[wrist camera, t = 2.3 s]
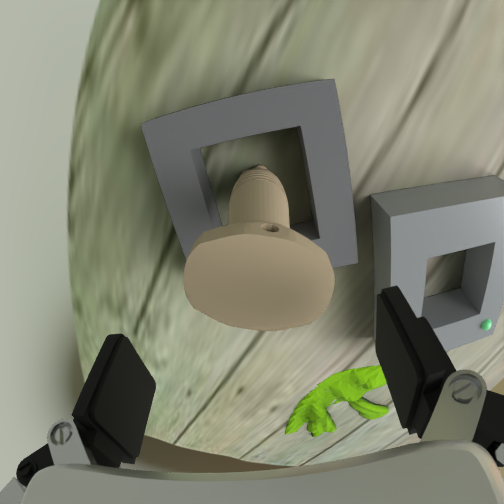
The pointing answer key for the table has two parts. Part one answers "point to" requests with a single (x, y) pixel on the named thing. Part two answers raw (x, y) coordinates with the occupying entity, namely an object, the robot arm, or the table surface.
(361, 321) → the table surface
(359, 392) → the cloth
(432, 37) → the table surface
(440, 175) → the table surface
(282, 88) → the grey square frame
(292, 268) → the handle
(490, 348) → the table surface
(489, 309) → the port block
